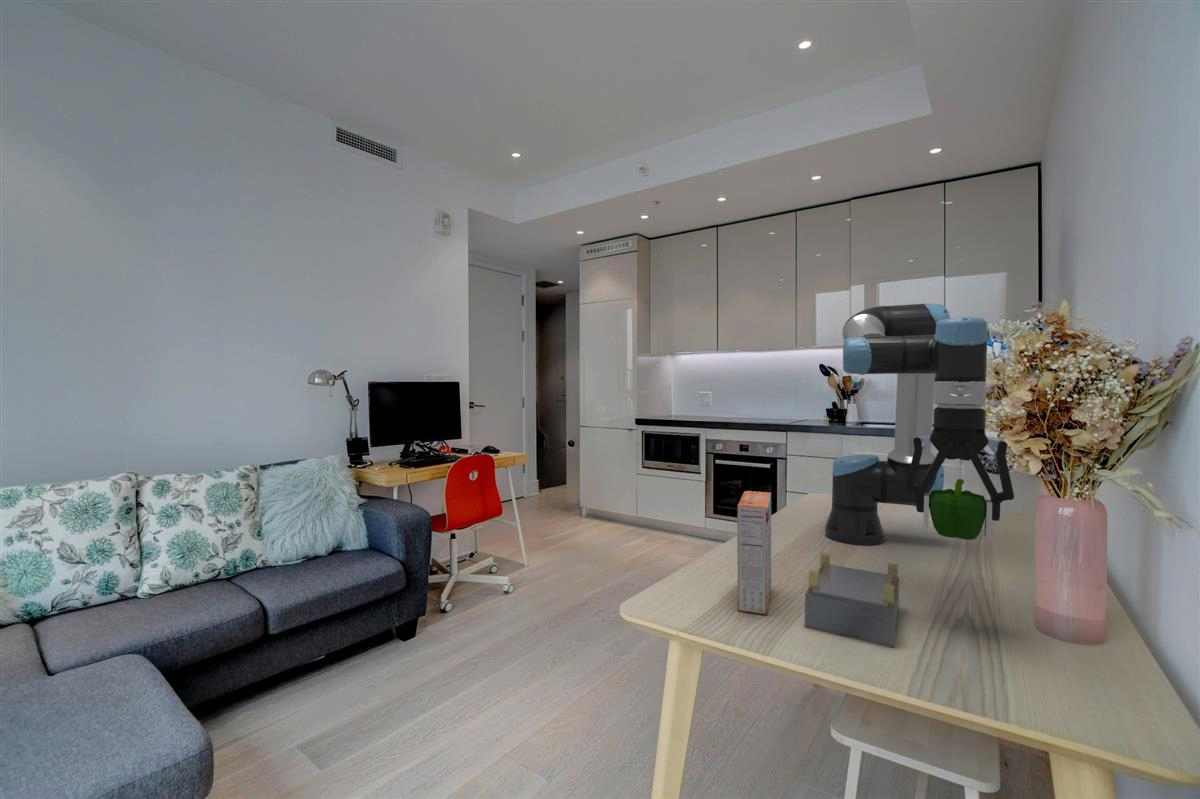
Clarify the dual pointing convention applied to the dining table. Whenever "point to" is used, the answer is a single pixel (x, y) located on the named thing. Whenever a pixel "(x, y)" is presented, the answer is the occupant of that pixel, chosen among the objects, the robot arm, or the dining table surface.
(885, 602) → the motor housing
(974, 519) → the bell pepper
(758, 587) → the cracker box
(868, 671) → the dining table surface
